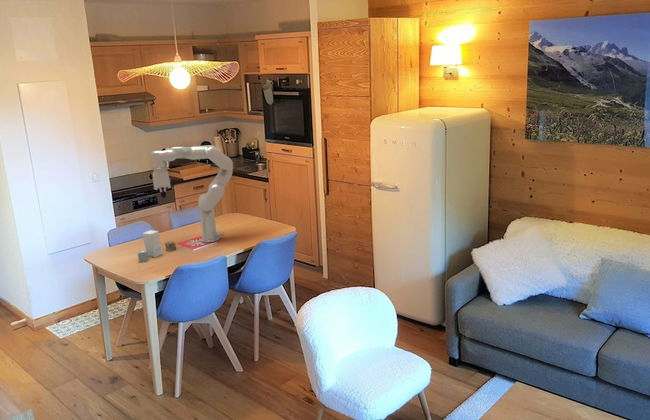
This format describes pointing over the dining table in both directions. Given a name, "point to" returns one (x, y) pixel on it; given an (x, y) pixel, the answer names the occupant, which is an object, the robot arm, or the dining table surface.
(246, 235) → the dining table surface
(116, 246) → the dining table surface
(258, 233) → the dining table surface
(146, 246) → the skincare box
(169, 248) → the walnut block dot
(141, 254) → the slate block dot
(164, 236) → the dining table surface
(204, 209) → the robot arm
